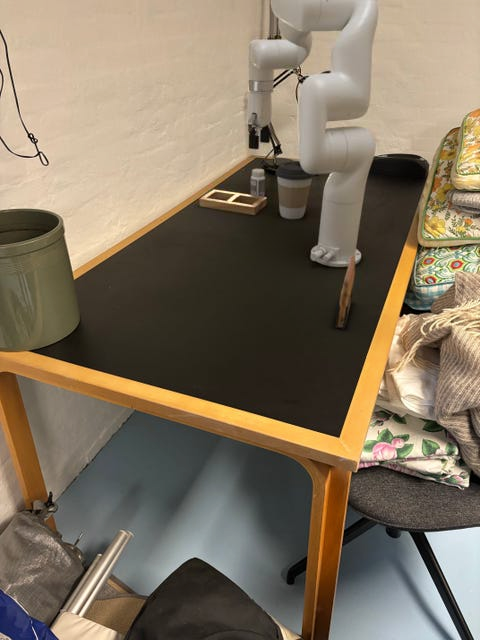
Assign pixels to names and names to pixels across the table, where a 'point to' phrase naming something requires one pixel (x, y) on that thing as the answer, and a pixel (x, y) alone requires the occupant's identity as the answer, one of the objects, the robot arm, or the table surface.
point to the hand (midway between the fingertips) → (259, 145)
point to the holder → (233, 202)
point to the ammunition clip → (346, 295)
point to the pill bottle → (258, 182)
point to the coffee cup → (293, 189)
